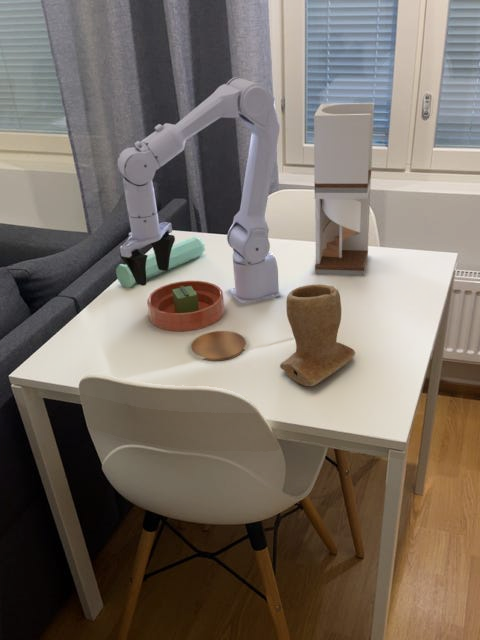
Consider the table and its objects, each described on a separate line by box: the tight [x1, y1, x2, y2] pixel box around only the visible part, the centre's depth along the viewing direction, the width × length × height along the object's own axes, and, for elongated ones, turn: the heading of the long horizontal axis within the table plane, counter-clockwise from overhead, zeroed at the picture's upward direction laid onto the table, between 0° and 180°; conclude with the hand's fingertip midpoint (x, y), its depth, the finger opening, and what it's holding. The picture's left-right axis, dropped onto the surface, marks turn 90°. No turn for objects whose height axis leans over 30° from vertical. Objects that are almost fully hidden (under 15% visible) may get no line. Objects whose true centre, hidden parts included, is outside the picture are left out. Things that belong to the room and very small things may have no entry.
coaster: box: [190, 330, 247, 362], centre depth 139 cm, size 11×11×1 cm
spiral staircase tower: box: [313, 102, 375, 277], centre depth 156 cm, size 11×11×35 cm
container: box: [115, 236, 206, 288], centre depth 170 cm, size 6×6×25 cm
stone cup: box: [279, 283, 356, 387], centre depth 126 cm, size 15×12×15 cm
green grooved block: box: [172, 286, 199, 313], centre depth 149 cm, size 4×5×5 cm
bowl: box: [146, 280, 225, 332], centre depth 150 cm, size 16×16×4 cm
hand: (152, 277), depth 145 cm, fingers open, 7 cm apart
